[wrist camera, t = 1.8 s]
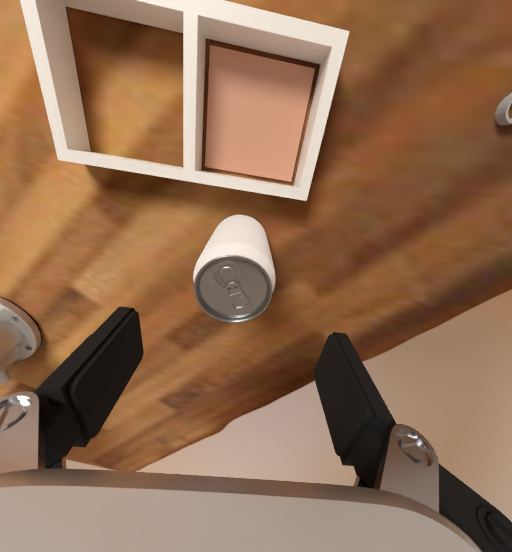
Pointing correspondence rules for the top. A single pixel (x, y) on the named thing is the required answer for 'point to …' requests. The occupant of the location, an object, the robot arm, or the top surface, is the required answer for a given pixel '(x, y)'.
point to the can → (235, 271)
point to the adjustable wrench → (504, 111)
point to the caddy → (221, 89)
